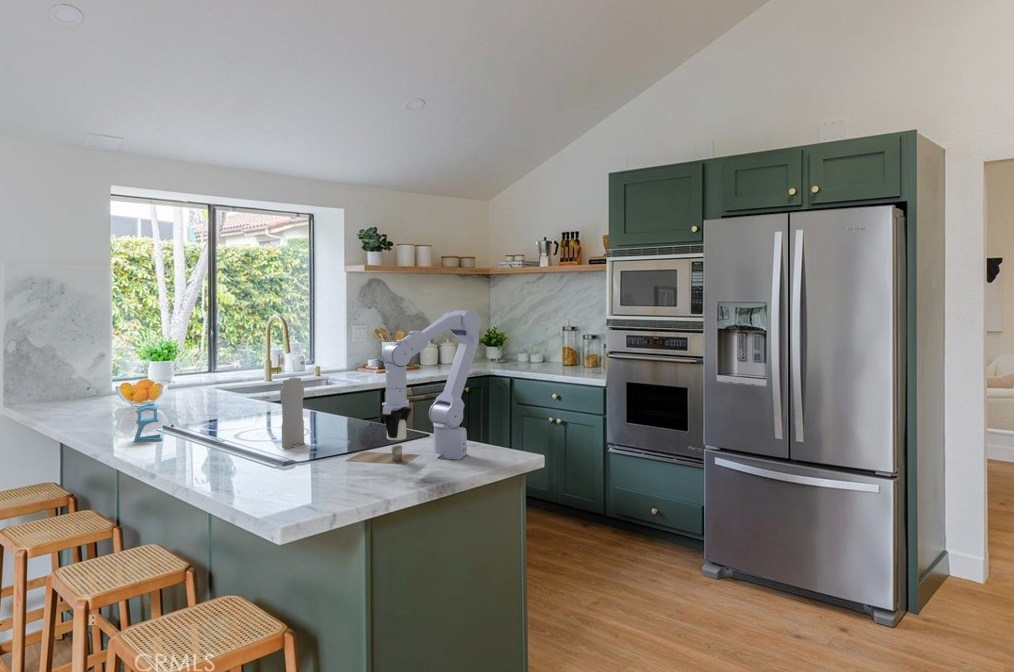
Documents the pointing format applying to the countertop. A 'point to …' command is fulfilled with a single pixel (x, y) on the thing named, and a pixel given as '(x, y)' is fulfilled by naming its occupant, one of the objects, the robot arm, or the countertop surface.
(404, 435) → the cap
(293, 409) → the tall pale column
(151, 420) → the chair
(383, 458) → the post board
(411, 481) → the countertop surface
